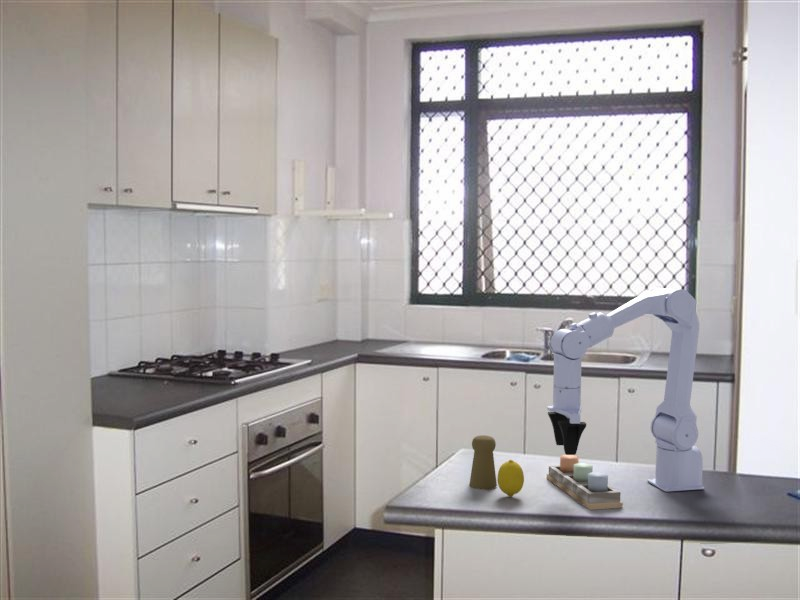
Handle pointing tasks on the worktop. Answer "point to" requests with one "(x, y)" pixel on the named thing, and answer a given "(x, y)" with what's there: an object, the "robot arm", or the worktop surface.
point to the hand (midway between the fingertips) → (565, 449)
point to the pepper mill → (483, 463)
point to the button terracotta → (568, 463)
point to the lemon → (510, 478)
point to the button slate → (597, 482)
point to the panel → (584, 491)
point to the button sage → (582, 472)
